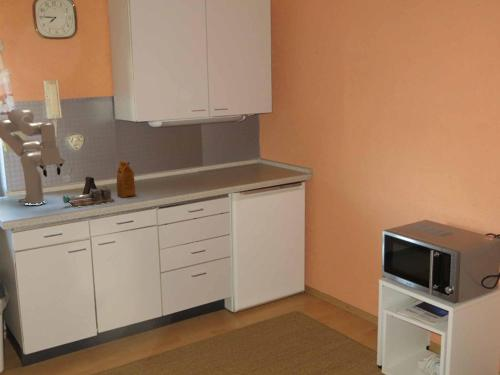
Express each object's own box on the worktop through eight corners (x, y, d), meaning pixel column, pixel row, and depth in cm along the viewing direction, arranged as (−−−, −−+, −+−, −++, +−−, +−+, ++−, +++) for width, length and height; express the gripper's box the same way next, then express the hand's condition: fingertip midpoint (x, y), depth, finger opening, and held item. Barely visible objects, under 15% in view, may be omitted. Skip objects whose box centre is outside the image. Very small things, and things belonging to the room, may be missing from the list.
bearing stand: (74, 208, 346) (73, 195, 344) (68, 204, 356) (67, 191, 354) (114, 201, 358) (113, 189, 356) (107, 198, 368) (106, 186, 366)
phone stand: (86, 197, 371) (84, 178, 369) (82, 196, 376) (80, 177, 373) (99, 195, 377) (98, 176, 375) (95, 193, 382) (93, 175, 379)
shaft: (65, 204, 346) (64, 196, 345) (63, 202, 350) (62, 195, 349) (99, 199, 357) (98, 191, 356) (96, 197, 360) (96, 190, 359)
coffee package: (130, 192, 382) (128, 158, 377) (137, 196, 371) (134, 161, 367) (115, 194, 377) (112, 160, 372) (121, 198, 367) (119, 163, 362)
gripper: (34, 146, 330) (38, 178, 334) (66, 143, 339) (69, 174, 343) (31, 145, 336) (35, 176, 340) (62, 142, 345) (65, 172, 349)
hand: (52, 175), depth 341 cm, fingers open, 6 cm apart
